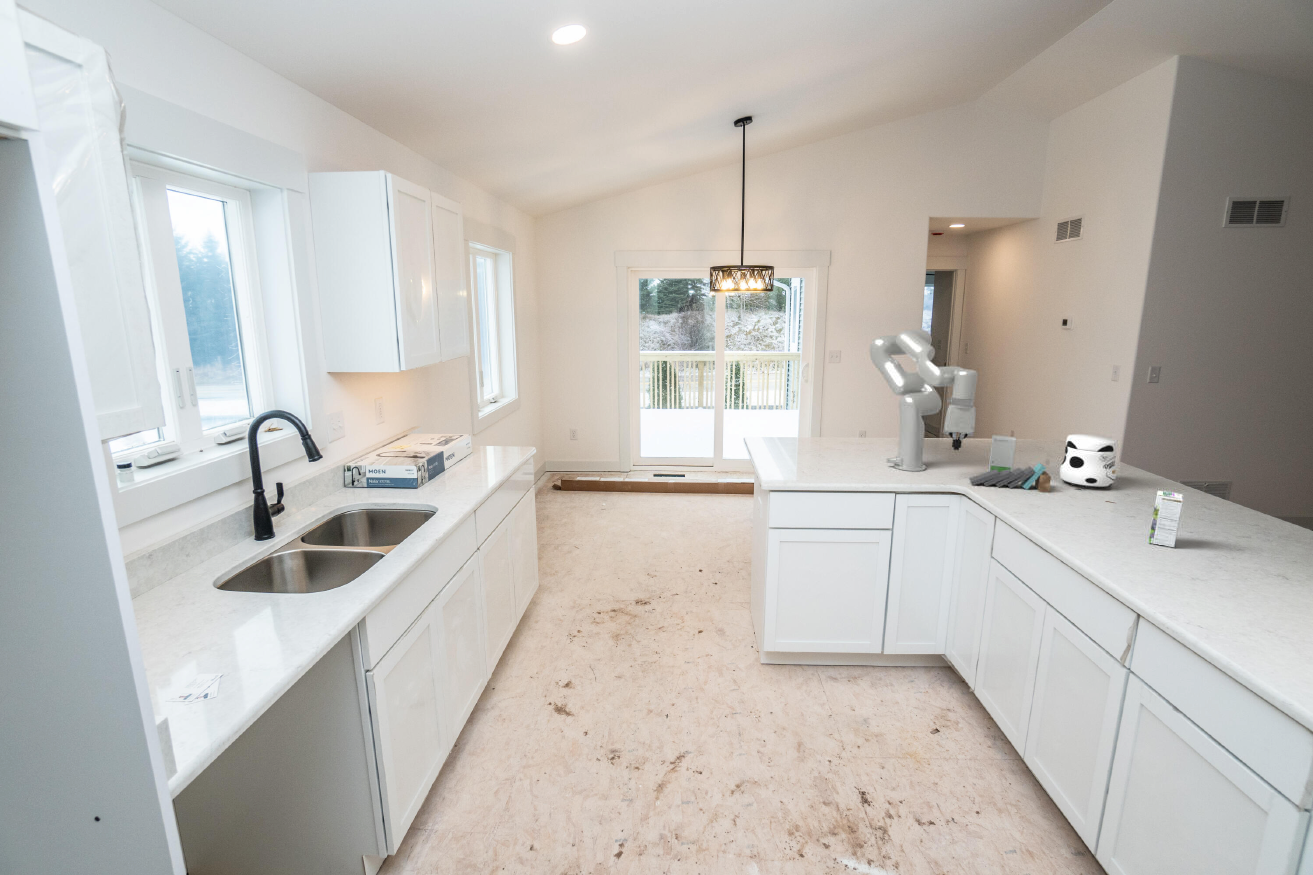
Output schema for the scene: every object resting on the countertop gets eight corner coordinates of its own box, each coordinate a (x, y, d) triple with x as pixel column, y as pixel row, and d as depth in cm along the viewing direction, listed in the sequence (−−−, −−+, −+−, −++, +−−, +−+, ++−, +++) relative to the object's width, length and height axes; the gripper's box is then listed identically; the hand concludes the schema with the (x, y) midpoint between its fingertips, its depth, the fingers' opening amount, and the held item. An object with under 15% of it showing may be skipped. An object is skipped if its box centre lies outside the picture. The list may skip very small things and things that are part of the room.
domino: (1023, 487, 225) (1042, 465, 221) (1020, 483, 229) (1038, 462, 226) (1027, 489, 224) (1046, 468, 221) (1024, 486, 229) (1042, 465, 226)
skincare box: (988, 475, 244) (991, 437, 241) (988, 472, 250) (991, 434, 246) (1012, 478, 240) (1016, 439, 237) (1011, 474, 246) (1015, 436, 243)
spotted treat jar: (1124, 492, 220) (1131, 443, 216) (1070, 490, 223) (1076, 442, 220) (1100, 479, 237) (1106, 434, 233) (1050, 477, 240) (1056, 433, 236)
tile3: (995, 484, 228) (1022, 470, 224) (993, 480, 232) (1019, 467, 228) (998, 487, 228) (1024, 474, 224) (995, 484, 232) (1022, 471, 228)
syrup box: (1148, 538, 176) (1156, 489, 173) (1175, 542, 173) (1183, 493, 170) (1148, 544, 172) (1156, 494, 169) (1175, 548, 168) (1184, 498, 165)
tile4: (1007, 485, 226) (1032, 469, 223) (1005, 481, 231) (1029, 466, 227) (1010, 488, 226) (1035, 472, 222) (1008, 484, 231) (1032, 469, 227)
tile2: (983, 482, 229) (1011, 471, 225) (981, 479, 234) (1008, 468, 230) (985, 486, 229) (1013, 475, 225) (983, 483, 234) (1010, 472, 230)
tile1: (970, 481, 231) (998, 472, 227) (968, 478, 235) (996, 468, 231) (972, 485, 231) (1000, 476, 227) (970, 482, 235) (998, 472, 231)
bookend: (1039, 491, 222) (1041, 475, 221) (1034, 485, 229) (1036, 470, 228) (1049, 492, 221) (1050, 476, 220) (1043, 486, 228) (1045, 471, 227)
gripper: (941, 402, 229) (935, 449, 234) (985, 405, 224) (978, 454, 229) (940, 399, 236) (934, 445, 241) (983, 402, 231) (976, 449, 235)
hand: (956, 449), depth 235 cm, fingers closed
